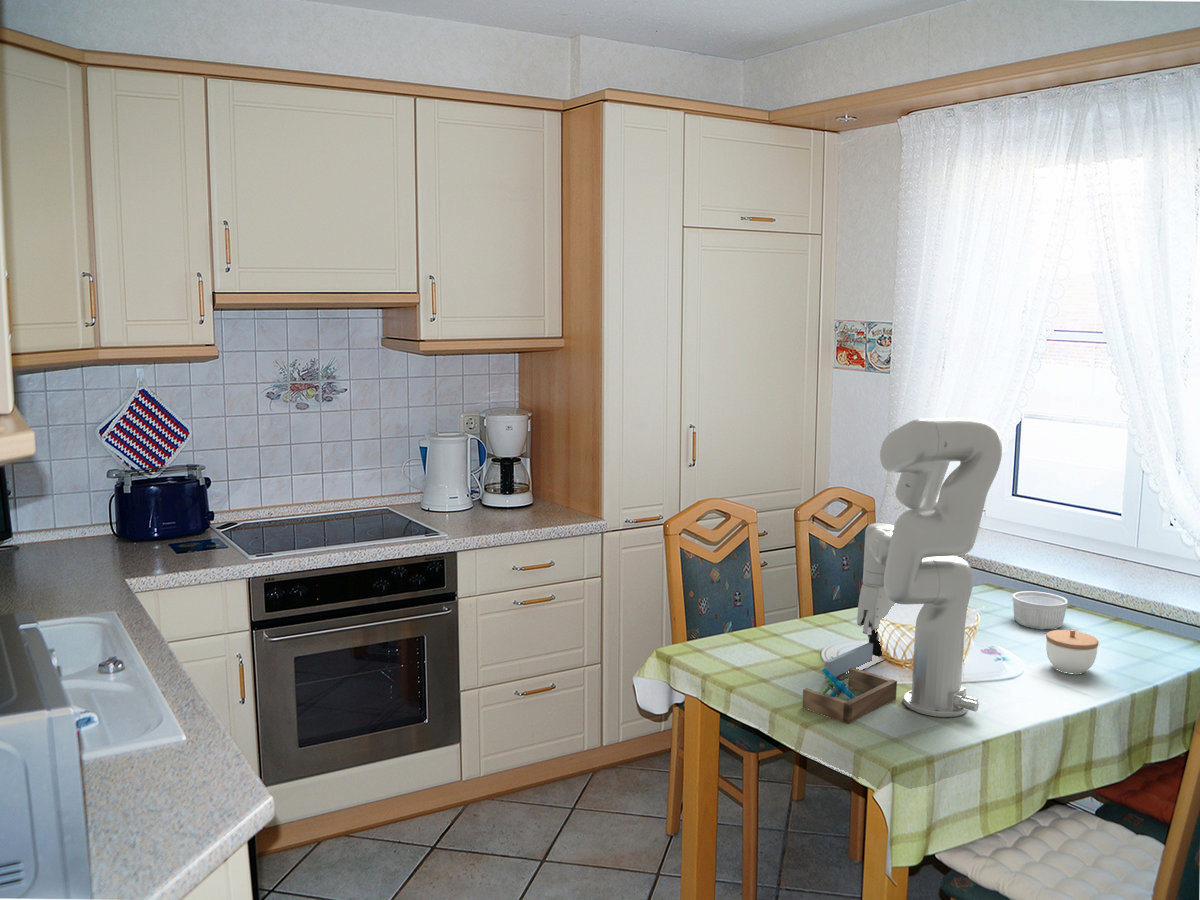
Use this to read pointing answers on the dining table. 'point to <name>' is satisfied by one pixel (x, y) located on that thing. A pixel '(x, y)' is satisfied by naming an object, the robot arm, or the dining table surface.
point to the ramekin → (1039, 609)
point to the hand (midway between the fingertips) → (876, 654)
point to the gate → (849, 660)
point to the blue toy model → (836, 686)
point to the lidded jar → (1071, 650)
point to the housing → (874, 697)
